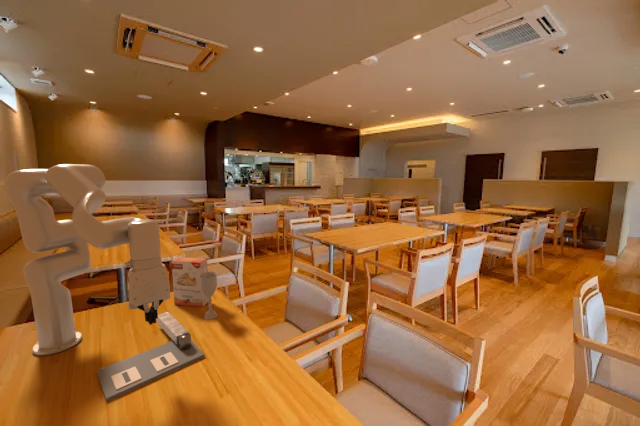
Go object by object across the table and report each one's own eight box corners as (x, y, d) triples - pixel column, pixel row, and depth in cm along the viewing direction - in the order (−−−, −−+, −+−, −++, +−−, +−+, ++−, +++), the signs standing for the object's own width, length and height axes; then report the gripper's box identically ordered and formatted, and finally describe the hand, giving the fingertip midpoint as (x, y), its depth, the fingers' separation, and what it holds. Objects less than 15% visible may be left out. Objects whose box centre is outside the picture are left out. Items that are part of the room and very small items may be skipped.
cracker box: (173, 305, 128) (170, 260, 125) (182, 299, 134) (179, 256, 131) (202, 308, 126) (199, 262, 123) (209, 301, 132) (207, 258, 129)
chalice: (213, 321, 115) (211, 278, 112) (198, 319, 116) (195, 277, 113) (222, 312, 122) (221, 272, 119) (208, 311, 123) (206, 271, 120)
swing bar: (168, 320, 113) (167, 311, 112) (193, 346, 96) (193, 335, 96) (157, 324, 110) (156, 315, 109) (181, 351, 94) (180, 340, 93)
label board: (96, 373, 85) (96, 369, 85) (186, 337, 103) (186, 334, 103) (106, 401, 75) (105, 397, 74) (204, 356, 93) (204, 352, 93)
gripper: (117, 272, 74) (124, 337, 77) (178, 260, 85) (182, 317, 88) (112, 265, 80) (119, 326, 82) (170, 254, 90) (174, 309, 93)
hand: (151, 322), depth 85 cm, fingers closed
